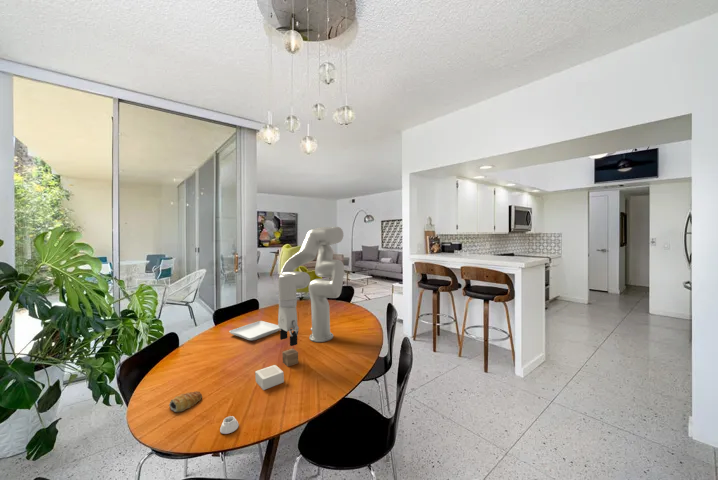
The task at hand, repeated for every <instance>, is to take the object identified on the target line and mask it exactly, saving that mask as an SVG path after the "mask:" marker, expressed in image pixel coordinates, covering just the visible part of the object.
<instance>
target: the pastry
mask: <svg viewBox="0 0 718 480" xmlns="http://www.w3.org/2000/svg"><path fill="white" fill-rule="evenodd" d="M201 398H202V399H203V395H202V392H201V391H193V392H192V391H191V392H186V393H181V394H180V395H176V396H175V397H174V398H172V399H171V400H170V402H169V404H168V406H169V408H170V410H171V411H173V412H175V413H181V412H183V411H185V410H187V409H190V408H192V407H193V406H195V405H196V404H198V403H199V402H200V401H201V400H202V399H201ZM198 401H199V402H198ZM197 402H198V403H197ZM194 404H195V405H194ZM191 406H192V407H191Z"/></svg>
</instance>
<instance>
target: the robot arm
mask: <svg viewBox="0 0 718 480" xmlns="http://www.w3.org/2000/svg"><path fill="white" fill-rule="evenodd" d="M343 239H344V231H343V229H342V227H339V226H322V227H316V228H312V229H309V230H308V231H307V233H306V235H305V237H304V239H303V241H302V244H301V245H300V248H299V250H298V251H297V252H296V253H295V254H293V255H292V256H291V257H289V258H288V260H286V261H285V263H284V264H283V266H282V268H281V271H280V273H279V276H278V279H277V281H278V282H277V283H278V284H277V285H278V287H277V288H278V316H277V325H278V326H279V327H280V330H279V339H280V340H281V341H282V340H285V339H286V340H287V339H288V333H289V335H290V336H289V346H290V347H293V346H297V345H298V336H299V335H298V334H299V329H300V328H299V326H298V312H297V304H298V303H297V302H298V301H297V290H299V289H305V288H307V287H308V293H309V297H310V308H311V309H310V311H311V328H310V331H311V333H310V335H309V339H308V340H310V341H311V342H315V343H324V342H328V341H331V340H332V339H333V338H334V334H333V333H332V332H331V319H330V318H331V317H330V316H331V315H330V303H329V300H328V298H329V299H337V298H339V297H340V295H341V294H342V289H343V282H344V274H345V265H344V263H343V261H342V260H340V259H334V250H333V248H332V245H333V246H334V245H336V244H339V243H341V242H342V240H343ZM315 259H316V263H315V268H314V273H315V275H316V276H317V277H320V278H315V279H313V280H311V276H310V275H309V273H307V272H305V271H295V270H296V269H298V268H299V267H300V266H303V265H306V264H308V263H310V262H312V261H314V260H315Z"/></svg>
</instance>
